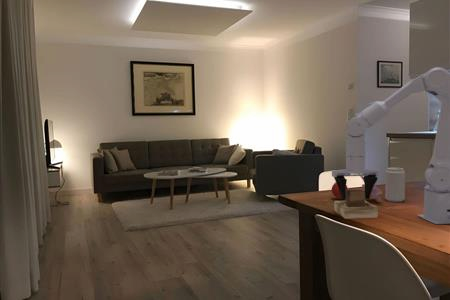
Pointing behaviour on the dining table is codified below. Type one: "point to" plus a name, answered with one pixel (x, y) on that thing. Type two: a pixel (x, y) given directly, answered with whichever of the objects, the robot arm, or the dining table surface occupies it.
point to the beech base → (356, 210)
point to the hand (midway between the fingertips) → (355, 198)
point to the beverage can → (395, 184)
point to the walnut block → (355, 198)
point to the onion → (337, 191)
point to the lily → (374, 191)
